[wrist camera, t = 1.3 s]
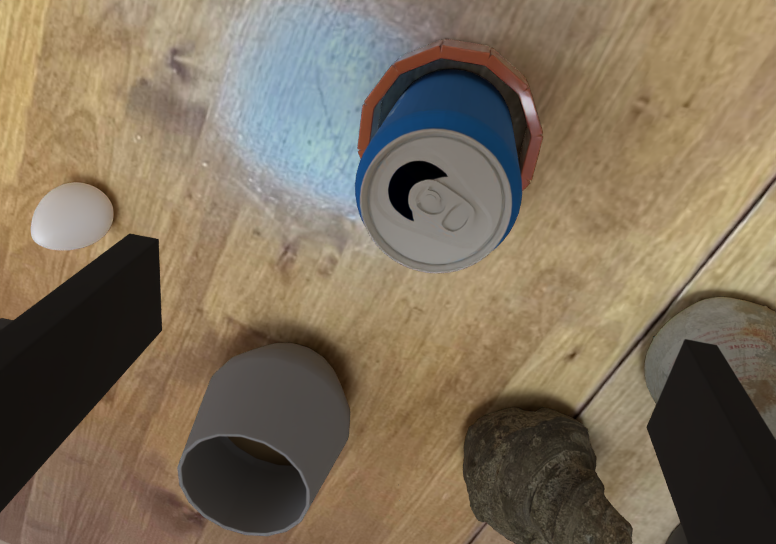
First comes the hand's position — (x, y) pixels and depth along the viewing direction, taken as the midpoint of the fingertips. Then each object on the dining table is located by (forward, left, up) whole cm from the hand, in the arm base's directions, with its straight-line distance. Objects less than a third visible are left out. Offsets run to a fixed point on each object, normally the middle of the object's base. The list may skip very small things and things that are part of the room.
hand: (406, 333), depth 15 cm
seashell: (+14, +17, -21) cm, 30 cm away
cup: (+20, +3, -21) cm, 29 cm away
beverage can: (0, 0, -21) cm, 21 cm away
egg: (+18, -14, -21) cm, 31 cm away
